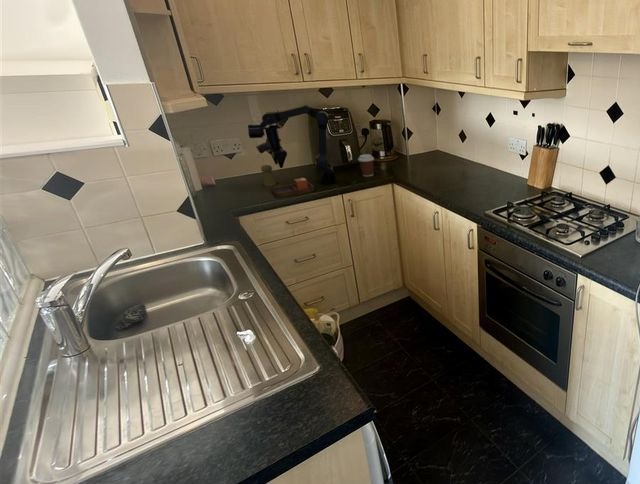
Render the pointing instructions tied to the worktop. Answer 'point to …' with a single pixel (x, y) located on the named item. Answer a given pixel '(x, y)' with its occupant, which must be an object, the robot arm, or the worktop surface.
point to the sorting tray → (291, 190)
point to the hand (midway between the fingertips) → (278, 166)
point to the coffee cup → (366, 164)
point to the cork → (268, 175)
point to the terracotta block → (300, 183)
